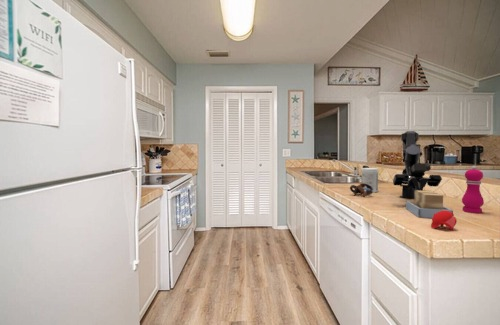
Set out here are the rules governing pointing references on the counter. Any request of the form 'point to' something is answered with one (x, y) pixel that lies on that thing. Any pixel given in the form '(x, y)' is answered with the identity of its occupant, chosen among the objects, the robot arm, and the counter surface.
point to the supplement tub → (370, 178)
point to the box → (424, 210)
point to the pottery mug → (361, 189)
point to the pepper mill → (473, 191)
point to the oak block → (428, 200)
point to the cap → (444, 219)
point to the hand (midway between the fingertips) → (420, 195)
